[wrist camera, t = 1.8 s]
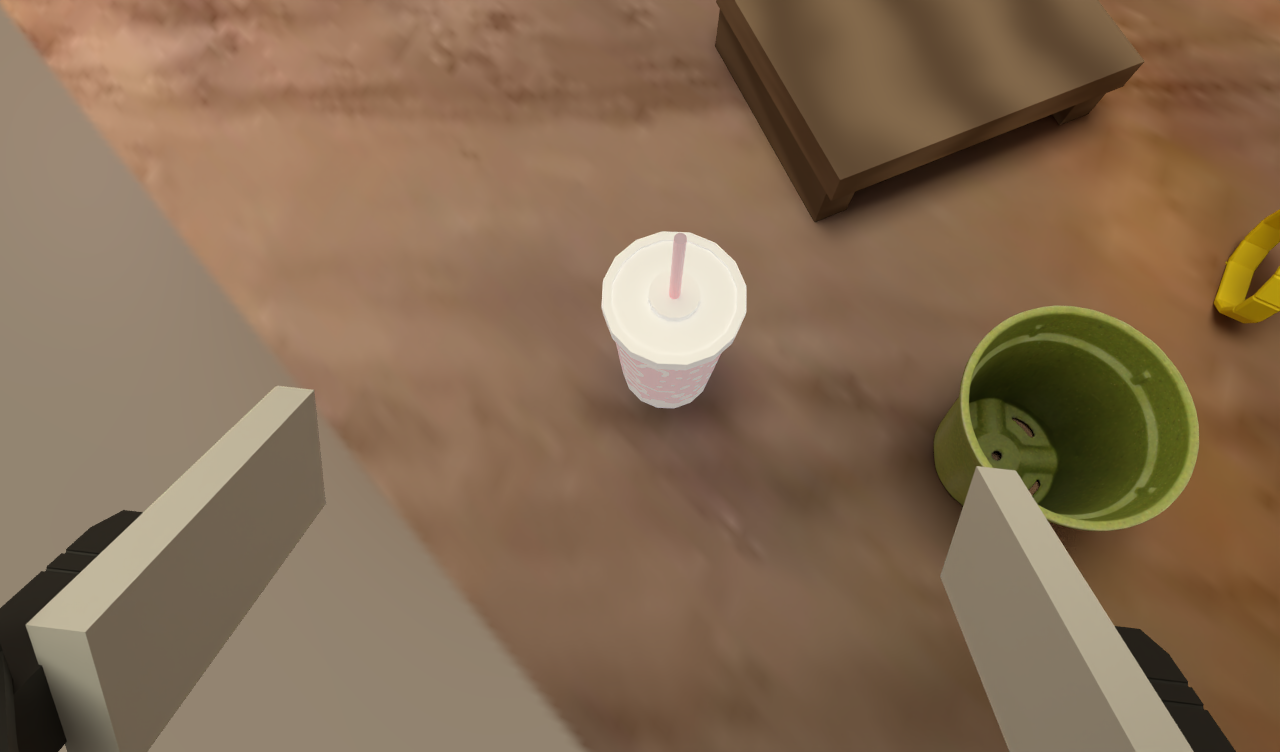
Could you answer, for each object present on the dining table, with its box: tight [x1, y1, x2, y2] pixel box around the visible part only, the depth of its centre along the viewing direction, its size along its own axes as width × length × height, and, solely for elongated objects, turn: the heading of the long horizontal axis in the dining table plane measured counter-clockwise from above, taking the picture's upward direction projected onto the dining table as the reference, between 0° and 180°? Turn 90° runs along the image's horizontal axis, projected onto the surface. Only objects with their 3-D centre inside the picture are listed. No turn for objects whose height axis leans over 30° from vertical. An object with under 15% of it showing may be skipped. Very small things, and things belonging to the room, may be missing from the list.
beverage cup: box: [602, 232, 746, 408], centre depth 36 cm, size 6×6×14 cm
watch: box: [1214, 210, 1280, 323], centre depth 41 cm, size 6×3×6 cm, turn 152°
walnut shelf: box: [715, 0, 1144, 222], centre depth 46 cm, size 18×14×5 cm
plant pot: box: [934, 306, 1199, 531], centre depth 37 cm, size 9×9×9 cm
